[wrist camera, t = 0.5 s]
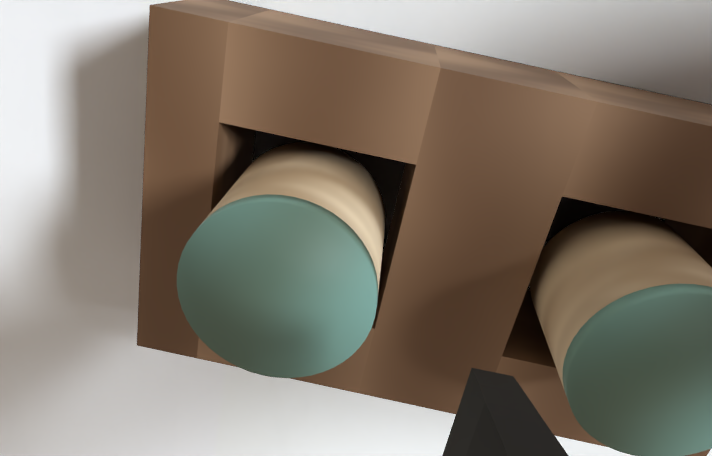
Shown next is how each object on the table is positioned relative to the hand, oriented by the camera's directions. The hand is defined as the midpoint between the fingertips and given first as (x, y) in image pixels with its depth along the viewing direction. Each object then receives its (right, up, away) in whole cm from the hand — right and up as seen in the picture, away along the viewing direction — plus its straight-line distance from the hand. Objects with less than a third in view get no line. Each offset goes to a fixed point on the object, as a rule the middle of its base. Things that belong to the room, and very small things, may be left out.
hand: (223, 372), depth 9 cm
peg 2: (+9, +1, +6) cm, 11 cm away
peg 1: (+1, +2, +6) cm, 7 cm away
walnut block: (+5, +3, +9) cm, 11 cm away
